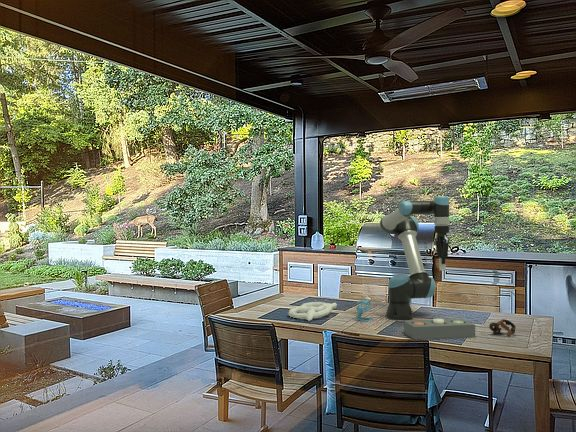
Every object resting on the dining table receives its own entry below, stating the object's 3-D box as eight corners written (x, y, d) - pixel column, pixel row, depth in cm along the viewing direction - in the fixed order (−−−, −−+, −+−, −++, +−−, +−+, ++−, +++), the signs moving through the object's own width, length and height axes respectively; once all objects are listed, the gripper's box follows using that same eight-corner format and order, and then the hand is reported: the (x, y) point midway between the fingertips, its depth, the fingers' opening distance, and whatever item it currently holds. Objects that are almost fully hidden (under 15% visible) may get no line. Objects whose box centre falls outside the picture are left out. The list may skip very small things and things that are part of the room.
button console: (403, 332, 232) (403, 320, 232) (461, 330, 235) (461, 318, 235) (414, 339, 218) (414, 327, 218) (475, 337, 221) (475, 324, 221)
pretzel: (314, 325, 256) (312, 314, 256) (282, 321, 272) (280, 310, 271) (342, 311, 277) (341, 300, 277) (311, 308, 293) (309, 298, 292)
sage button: (451, 326, 230) (451, 320, 230) (460, 326, 230) (460, 320, 230) (455, 328, 225) (455, 322, 225) (465, 328, 225) (465, 322, 225)
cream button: (431, 324, 229) (431, 318, 229) (441, 324, 229) (441, 318, 229) (435, 327, 224) (435, 320, 224) (445, 326, 224) (445, 320, 224)
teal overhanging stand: (359, 318, 267) (359, 297, 267) (373, 319, 263) (373, 298, 263) (354, 320, 260) (354, 299, 260) (368, 322, 256) (368, 300, 256)
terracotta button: (411, 328, 228) (411, 321, 228) (421, 327, 228) (421, 321, 228) (415, 330, 223) (415, 324, 223) (425, 330, 223) (425, 323, 223)
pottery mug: (503, 332, 232) (511, 319, 229) (513, 345, 224) (521, 332, 221) (482, 327, 230) (490, 314, 227) (491, 340, 222) (499, 326, 218)
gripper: (429, 225, 251) (430, 269, 251) (440, 225, 238) (440, 271, 238) (443, 225, 252) (443, 268, 252) (454, 225, 239) (455, 271, 239)
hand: (442, 270), depth 245 cm, fingers closed
